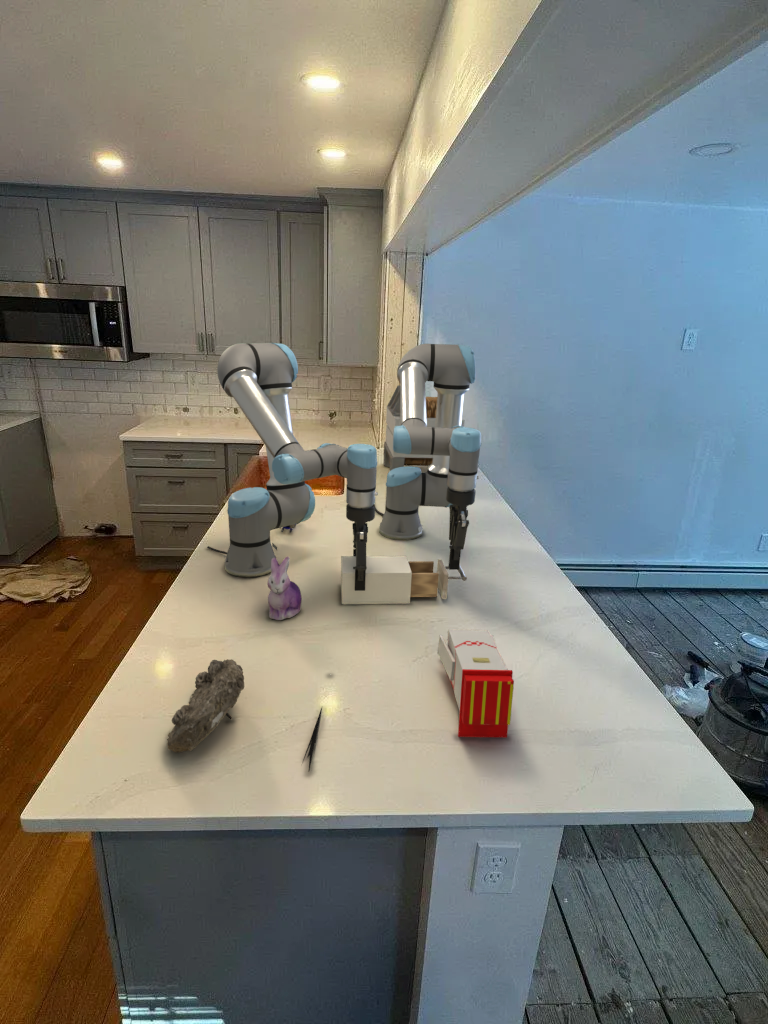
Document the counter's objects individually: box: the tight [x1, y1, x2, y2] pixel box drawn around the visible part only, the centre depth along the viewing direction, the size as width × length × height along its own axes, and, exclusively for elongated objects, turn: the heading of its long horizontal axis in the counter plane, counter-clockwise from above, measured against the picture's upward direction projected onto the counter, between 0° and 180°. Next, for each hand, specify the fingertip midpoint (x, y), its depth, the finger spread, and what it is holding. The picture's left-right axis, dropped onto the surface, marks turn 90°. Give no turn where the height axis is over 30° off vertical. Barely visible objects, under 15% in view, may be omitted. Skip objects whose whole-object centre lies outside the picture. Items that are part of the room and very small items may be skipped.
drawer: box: [408, 559, 468, 600], centre depth 157 cm, size 23×10×7 cm, turn 95°
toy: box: [437, 628, 515, 738], centre depth 117 cm, size 12×13×30 cm
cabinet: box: [340, 555, 412, 605], centre depth 155 cm, size 18×11×9 cm, turn 95°
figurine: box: [267, 556, 302, 621], centre depth 143 cm, size 9×10×15 cm
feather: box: [301, 673, 332, 771], centre depth 108 cm, size 2×28×2 cm
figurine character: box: [280, 524, 297, 533], centre depth 200 cm, size 7×8×15 cm
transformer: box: [383, 384, 465, 472], centre depth 268 cm, size 34×33×41 cm
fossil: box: [166, 658, 245, 754], centre depth 106 cm, size 22×10×15 cm
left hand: (358, 580), depth 155 cm, fingers closed on cabinet, 11 cm apart
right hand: (453, 568), depth 157 cm, fingers closed
